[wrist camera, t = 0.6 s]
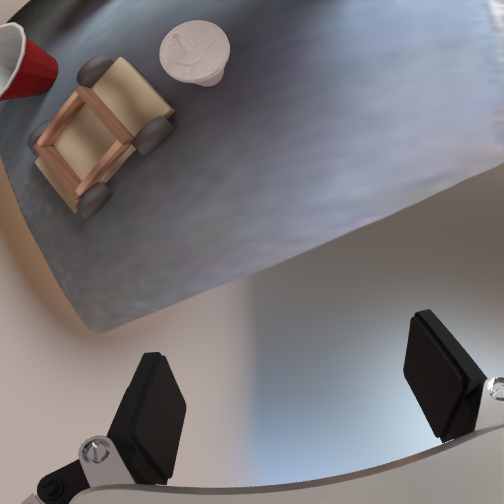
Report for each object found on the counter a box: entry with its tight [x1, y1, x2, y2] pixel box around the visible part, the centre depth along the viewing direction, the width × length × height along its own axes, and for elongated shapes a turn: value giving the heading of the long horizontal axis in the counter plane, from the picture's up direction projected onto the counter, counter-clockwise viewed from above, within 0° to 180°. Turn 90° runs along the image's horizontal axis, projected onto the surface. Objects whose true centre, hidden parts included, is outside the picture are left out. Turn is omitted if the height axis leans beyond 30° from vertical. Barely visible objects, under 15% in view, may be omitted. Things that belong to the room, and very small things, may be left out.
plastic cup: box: [0, 22, 58, 101], centre depth 24 cm, size 11×11×12 cm
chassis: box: [27, 55, 175, 219], centre depth 31 cm, size 18×14×5 cm
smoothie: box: [159, 20, 230, 87], centre depth 24 cm, size 6×6×14 cm
